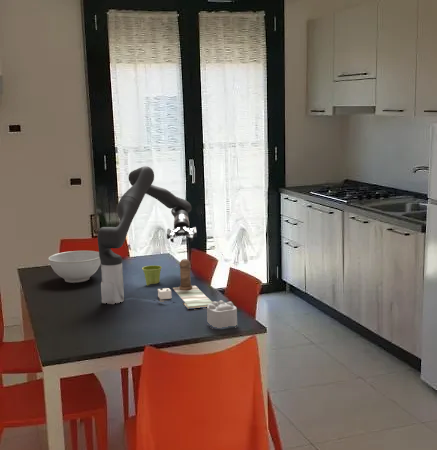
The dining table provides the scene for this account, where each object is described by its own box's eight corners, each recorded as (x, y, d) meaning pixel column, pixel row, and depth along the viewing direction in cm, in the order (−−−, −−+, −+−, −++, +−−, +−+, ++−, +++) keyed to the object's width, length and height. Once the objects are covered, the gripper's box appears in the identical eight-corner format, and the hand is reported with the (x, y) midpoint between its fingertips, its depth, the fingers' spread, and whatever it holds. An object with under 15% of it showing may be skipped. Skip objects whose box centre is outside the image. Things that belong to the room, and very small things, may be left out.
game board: (215, 307, 274) (215, 303, 274) (187, 310, 271) (187, 306, 271) (196, 288, 305) (196, 285, 304) (171, 290, 301) (171, 287, 301)
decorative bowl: (112, 274, 337) (111, 251, 335) (90, 287, 311) (88, 263, 309) (65, 272, 343) (64, 249, 341) (39, 285, 318) (38, 261, 316)
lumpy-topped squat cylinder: (215, 331, 244) (214, 309, 243) (202, 321, 256) (201, 300, 255) (240, 327, 248) (239, 305, 247) (226, 317, 260) (226, 296, 259)
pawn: (188, 290, 295) (187, 260, 293) (177, 289, 298) (175, 259, 295) (194, 287, 300) (193, 258, 298) (183, 286, 303) (182, 257, 301)
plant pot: (141, 287, 308) (140, 270, 307) (144, 282, 318) (143, 265, 316) (161, 287, 308) (160, 269, 306) (163, 282, 317) (162, 265, 316)
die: (171, 301, 284) (171, 289, 283) (160, 303, 283) (159, 290, 282) (169, 298, 289) (168, 286, 288) (158, 299, 288) (157, 288, 287)
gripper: (166, 218, 316) (166, 234, 302) (195, 216, 317) (196, 232, 302) (167, 232, 320) (167, 248, 305) (196, 230, 320) (197, 246, 306)
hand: (181, 240), depth 304 cm, fingers open, 8 cm apart
